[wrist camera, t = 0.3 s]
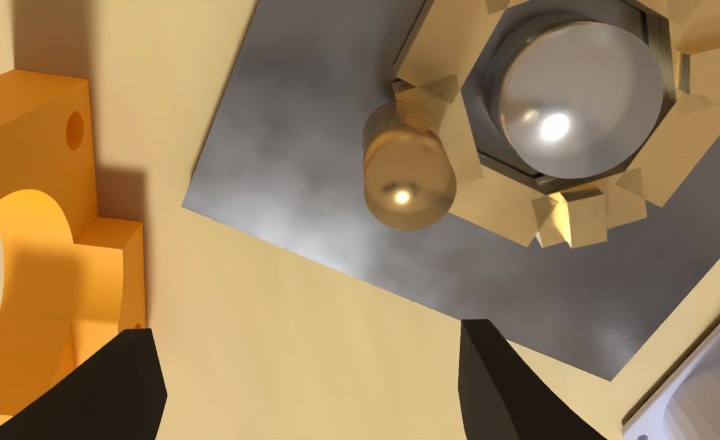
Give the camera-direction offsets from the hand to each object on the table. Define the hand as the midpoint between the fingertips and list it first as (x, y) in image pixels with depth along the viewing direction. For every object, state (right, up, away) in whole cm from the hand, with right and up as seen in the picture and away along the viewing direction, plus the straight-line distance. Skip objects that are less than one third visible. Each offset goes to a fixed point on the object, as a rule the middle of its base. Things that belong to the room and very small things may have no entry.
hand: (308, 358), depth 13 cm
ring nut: (+8, +8, +6) cm, 13 cm away
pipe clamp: (-10, +3, +10) cm, 14 cm away
